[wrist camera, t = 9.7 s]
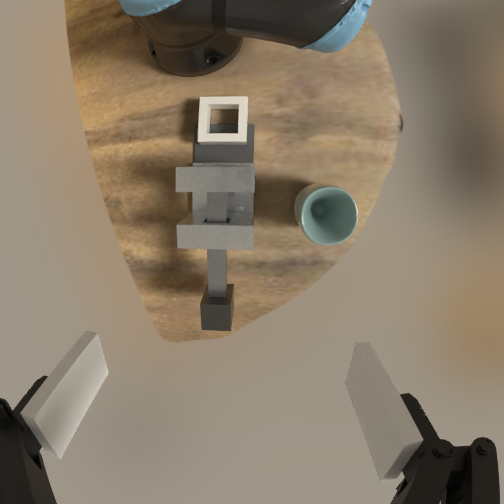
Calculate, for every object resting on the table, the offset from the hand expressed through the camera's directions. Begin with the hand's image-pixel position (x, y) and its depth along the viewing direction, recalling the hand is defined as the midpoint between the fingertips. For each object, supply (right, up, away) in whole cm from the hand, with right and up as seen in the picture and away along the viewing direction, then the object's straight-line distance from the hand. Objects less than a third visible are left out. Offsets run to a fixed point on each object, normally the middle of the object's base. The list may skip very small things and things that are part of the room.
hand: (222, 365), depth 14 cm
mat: (-3, +22, +30) cm, 37 cm away
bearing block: (-3, +14, +32) cm, 35 cm away
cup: (+11, +13, +33) cm, 37 cm away
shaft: (-3, +7, +29) cm, 30 cm away
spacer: (-3, +25, +27) cm, 37 cm away
